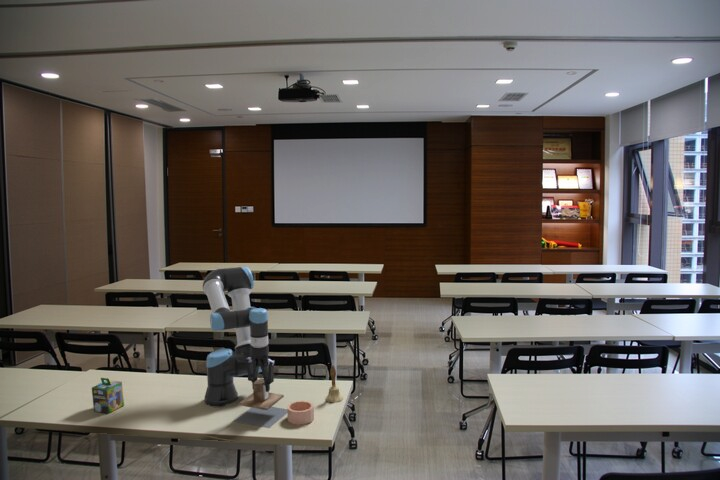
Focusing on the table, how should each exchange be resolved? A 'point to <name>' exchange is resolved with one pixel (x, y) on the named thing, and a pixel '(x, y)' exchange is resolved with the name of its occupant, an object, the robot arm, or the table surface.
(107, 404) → the chalk box
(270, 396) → the walnut lid
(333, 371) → the hand bell
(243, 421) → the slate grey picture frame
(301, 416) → the terracotta bowl
